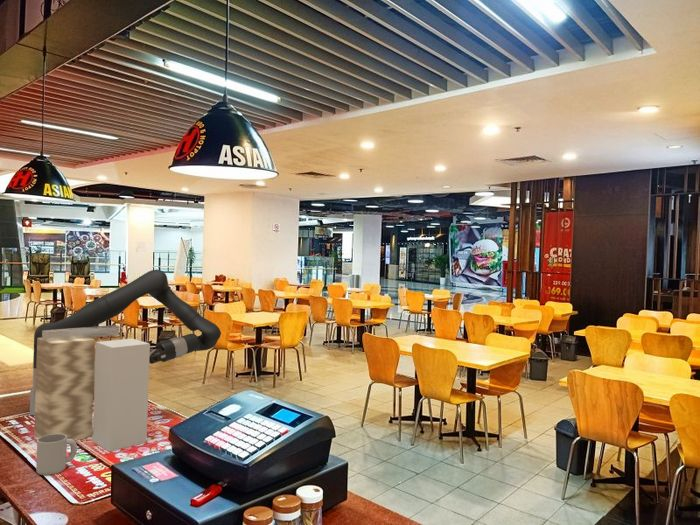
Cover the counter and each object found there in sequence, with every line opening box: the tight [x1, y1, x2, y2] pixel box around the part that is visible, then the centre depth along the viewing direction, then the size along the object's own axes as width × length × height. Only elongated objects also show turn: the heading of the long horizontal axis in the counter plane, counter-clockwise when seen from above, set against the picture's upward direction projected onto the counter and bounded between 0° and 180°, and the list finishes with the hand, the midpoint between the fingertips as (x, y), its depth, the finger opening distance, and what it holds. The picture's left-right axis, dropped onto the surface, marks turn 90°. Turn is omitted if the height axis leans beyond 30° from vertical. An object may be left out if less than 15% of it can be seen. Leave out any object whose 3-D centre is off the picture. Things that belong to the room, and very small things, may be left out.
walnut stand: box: [33, 338, 96, 441], centre depth 170 cm, size 13×13×32 cm
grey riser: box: [92, 338, 151, 453], centre depth 167 cm, size 12×12×32 cm
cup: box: [35, 434, 78, 476], centre depth 145 cm, size 7×10×9 cm
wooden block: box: [42, 324, 120, 342], centre depth 173 cm, size 23×4×3 cm, turn 138°
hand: (129, 362), depth 183 cm, fingers open, 8 cm apart
